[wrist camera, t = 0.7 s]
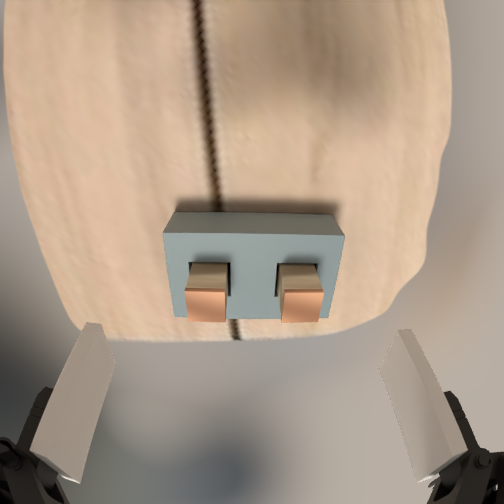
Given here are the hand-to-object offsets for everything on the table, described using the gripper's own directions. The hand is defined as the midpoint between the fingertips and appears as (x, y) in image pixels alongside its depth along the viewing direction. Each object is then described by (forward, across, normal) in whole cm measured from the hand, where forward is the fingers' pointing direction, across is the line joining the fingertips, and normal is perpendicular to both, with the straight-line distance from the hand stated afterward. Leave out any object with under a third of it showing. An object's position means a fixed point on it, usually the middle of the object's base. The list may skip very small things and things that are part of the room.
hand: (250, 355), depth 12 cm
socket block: (+26, +1, -10) cm, 28 cm away
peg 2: (+21, +6, -10) cm, 24 cm away
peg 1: (+21, -4, -10) cm, 24 cm away
